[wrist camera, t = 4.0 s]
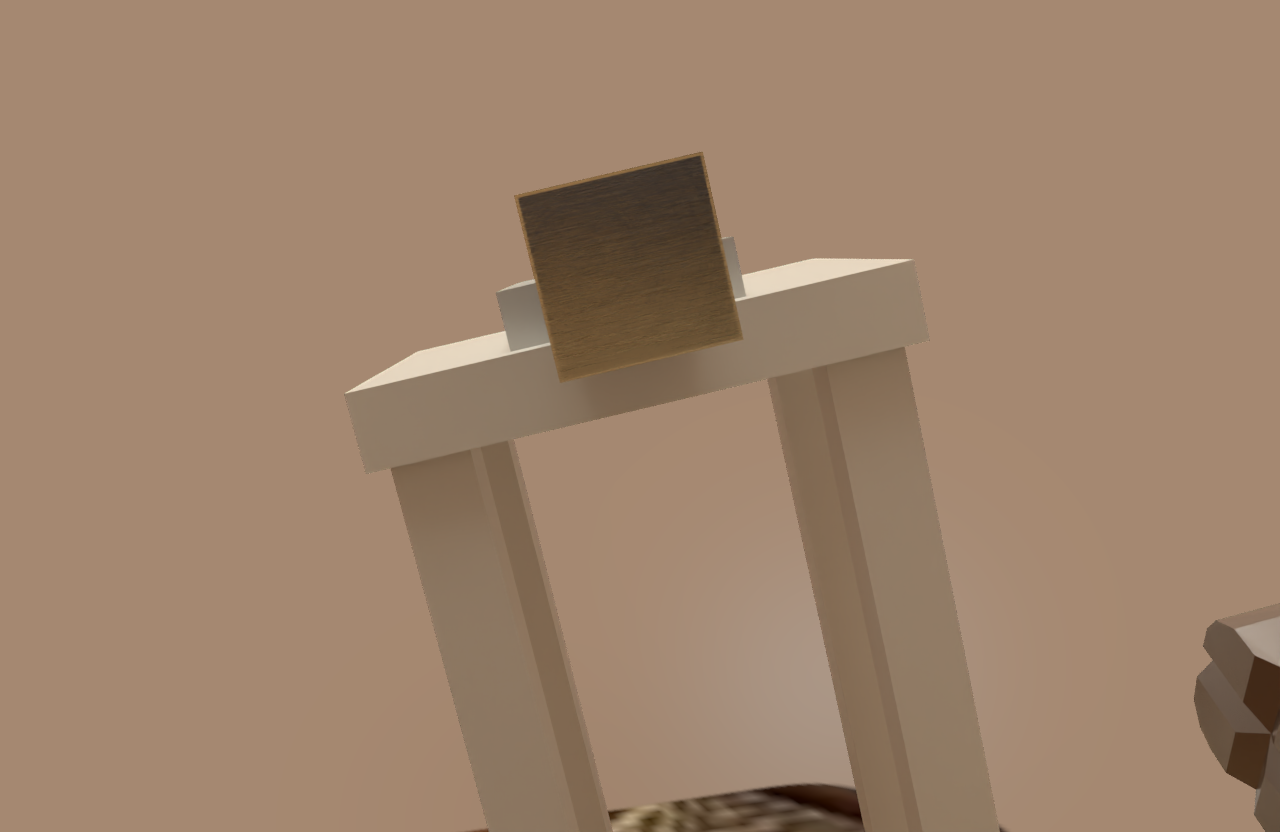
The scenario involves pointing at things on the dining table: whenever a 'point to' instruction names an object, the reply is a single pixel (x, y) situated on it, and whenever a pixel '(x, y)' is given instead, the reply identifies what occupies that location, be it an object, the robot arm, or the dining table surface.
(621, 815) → the dining table surface
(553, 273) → the pin
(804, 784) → the dining table surface
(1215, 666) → the robot arm
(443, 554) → the pin stand
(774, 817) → the dining table surface
